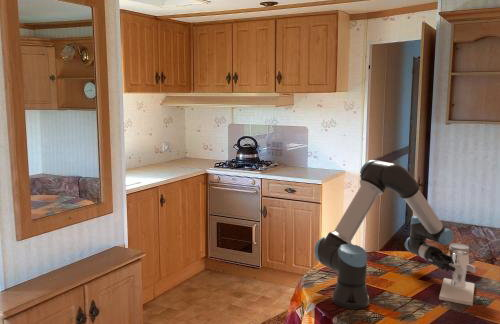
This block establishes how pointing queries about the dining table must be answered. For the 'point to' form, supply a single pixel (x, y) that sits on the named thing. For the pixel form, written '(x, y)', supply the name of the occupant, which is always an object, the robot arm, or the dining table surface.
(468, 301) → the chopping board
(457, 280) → the beer glass
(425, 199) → the robot arm
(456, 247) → the disposable coffee cup
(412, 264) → the dining table surface
